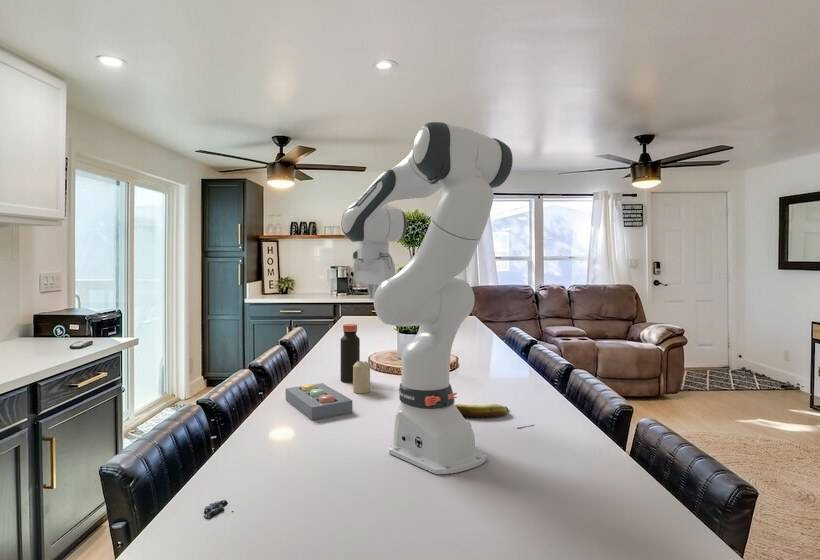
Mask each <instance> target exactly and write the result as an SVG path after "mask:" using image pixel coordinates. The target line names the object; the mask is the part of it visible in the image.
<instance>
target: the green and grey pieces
mask: <svg viewBox="0 0 820 560" xmlns="http://www.w3.org/2000/svg"><path fill="white" fill-rule="evenodd" d="M455 406H456V407H457V409H458V410H459V411H460V413H461V414H462V416H463V417H464V418H465V419H493V418H500V417H504V416H506V414H507V413H508V412H509V408H508V407H507V406H504V405H502V404H498V403H497V404H496V403H493V404H492V403H491V404H481V405H479V404H478V405H477V404H470V405H469V404H460V403H459V404H455ZM525 427H526V428H527V427H528V425H526V426H525V425H524V426H517V427H516V429H517V430H521V429H523V428H525Z"/></svg>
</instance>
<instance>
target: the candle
mask: <svg viewBox="0 0 820 560" xmlns="http://www.w3.org/2000/svg"><path fill="white" fill-rule="evenodd" d="M370 391H371V365H370V364H369V362H368V361H367V360H364V361H361V360H360V361H357V362H356V363H355V364H354V365H353V382H352V392H353V393H355V394H367V393H370Z"/></svg>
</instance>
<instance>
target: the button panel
mask: <svg viewBox="0 0 820 560" xmlns="http://www.w3.org/2000/svg"><path fill="white" fill-rule="evenodd" d="M314 384H315V385H316V389H323V390H325V395H334V402H330V403H324V404H321V403H320V402H319V397H320V396H319V397H313V398H312V397H311V396H310V391H306V392H304V391H302V385H301V386H294V387H293V386H292V387H286V388H285V401H286V402H288V403H289V404H290V405H291V406H293V407H294V408H295V409H297V410H298V411H299V412H300V413H301V414H303V415H304V416H305V417H307V418H308V419H310V420H311V421H315V420H320V419H326V418H331V417H336V416H342V415H347V414H352V413H353V399H351V398H350V397H347V396H345V395H344V394H342V393H340V392H339V391H337V390H335V389H333V388H332V387H330V386H328V385H326V384H325V383H323V382H320V383H314Z"/></svg>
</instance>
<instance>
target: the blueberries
mask: <svg viewBox="0 0 820 560" xmlns="http://www.w3.org/2000/svg"><path fill="white" fill-rule="evenodd" d="M228 504H229V502H228V501H227V499H222V500H219V501H218V500H217V501H215V502H212V503H209V504H208V505H206V506H205V507H204V509H203V518H204V519H206V520H212V518H214V517H215V516H218V515H220V514H221V513H224V512H225V507H226V506H227V505H228Z"/></svg>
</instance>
